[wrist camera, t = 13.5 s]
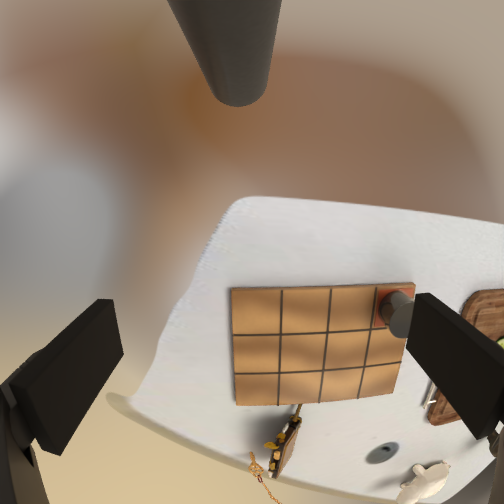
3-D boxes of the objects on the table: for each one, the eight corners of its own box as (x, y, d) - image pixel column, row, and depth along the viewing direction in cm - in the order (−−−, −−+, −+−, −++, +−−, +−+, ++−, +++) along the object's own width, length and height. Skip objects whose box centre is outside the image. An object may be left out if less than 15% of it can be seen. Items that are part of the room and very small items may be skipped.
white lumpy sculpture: (437, 449, 51) (394, 477, 45) (460, 468, 43) (419, 501, 38) (423, 471, 53) (380, 498, 47) (444, 489, 45) (401, 520, 40)
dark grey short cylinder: (380, 290, 37) (393, 302, 33) (413, 289, 37) (428, 300, 33) (374, 326, 38) (385, 340, 34) (407, 323, 38) (419, 337, 34)
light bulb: (499, 428, 47) (527, 464, 33) (482, 443, 48) (509, 481, 34) (495, 420, 46) (526, 458, 32) (478, 436, 47) (506, 476, 33)
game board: (231, 287, 38) (230, 291, 37) (412, 282, 38) (416, 285, 37) (236, 401, 42) (236, 406, 41) (390, 389, 42) (393, 394, 41)
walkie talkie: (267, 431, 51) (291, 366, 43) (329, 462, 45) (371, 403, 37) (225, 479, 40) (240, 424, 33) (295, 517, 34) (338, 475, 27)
